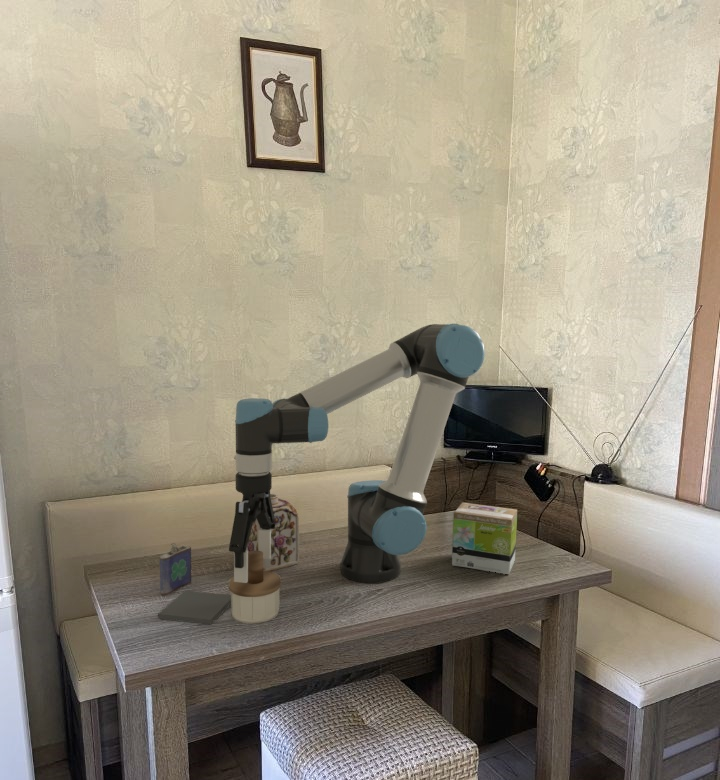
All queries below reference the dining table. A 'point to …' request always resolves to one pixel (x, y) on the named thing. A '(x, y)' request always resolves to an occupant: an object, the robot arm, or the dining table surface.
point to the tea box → (484, 537)
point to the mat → (196, 607)
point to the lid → (256, 579)
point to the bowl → (255, 608)
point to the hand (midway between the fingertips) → (253, 569)
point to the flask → (175, 569)
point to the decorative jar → (279, 536)
